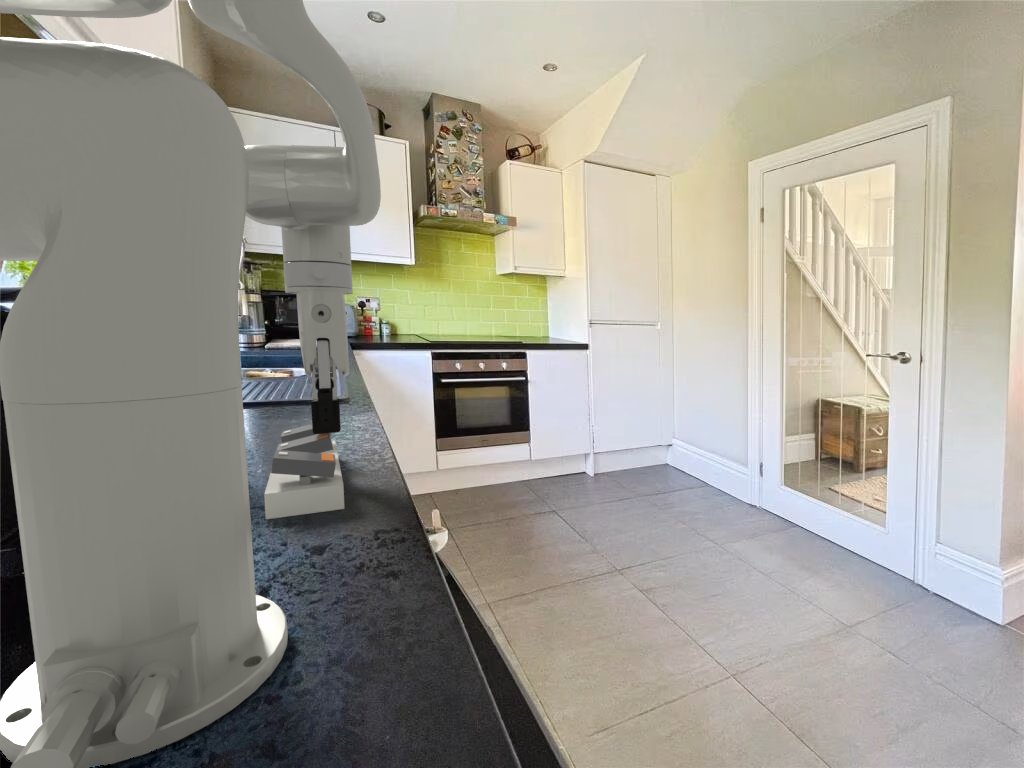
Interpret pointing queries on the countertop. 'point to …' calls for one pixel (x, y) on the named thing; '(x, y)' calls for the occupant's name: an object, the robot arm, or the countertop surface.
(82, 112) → the robot arm
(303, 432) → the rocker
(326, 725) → the countertop surface
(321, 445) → the rocker
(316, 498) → the switch panel base
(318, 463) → the rocker
